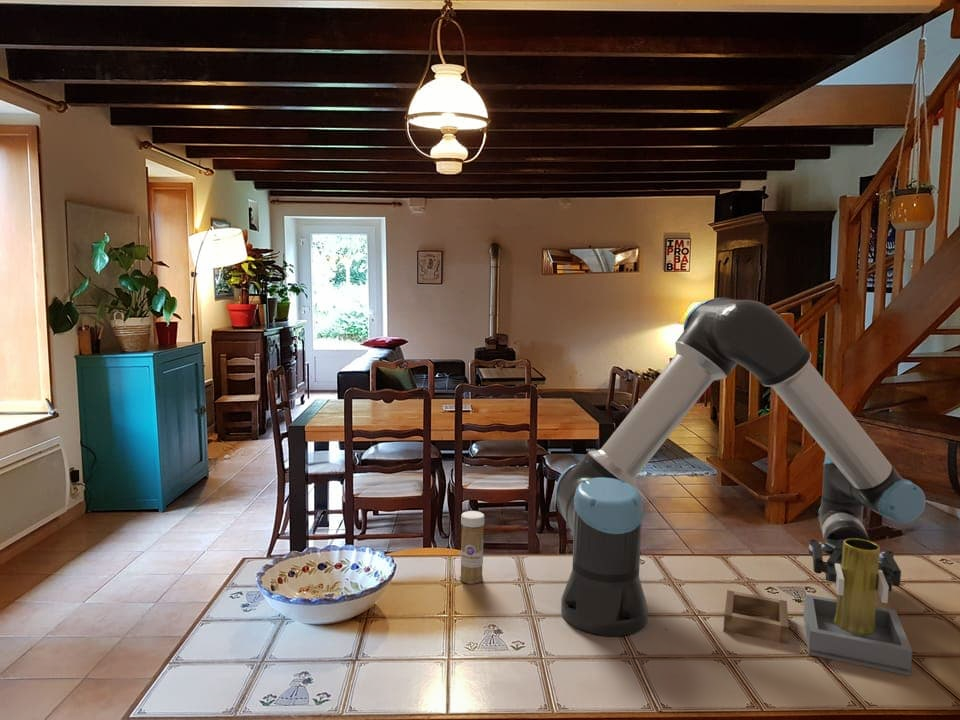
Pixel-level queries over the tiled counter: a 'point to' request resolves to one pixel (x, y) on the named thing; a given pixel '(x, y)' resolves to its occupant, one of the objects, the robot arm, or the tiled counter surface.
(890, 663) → the tray
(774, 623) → the socket
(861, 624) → the vase
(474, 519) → the sprinkles bottle
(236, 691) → the tiled counter surface
